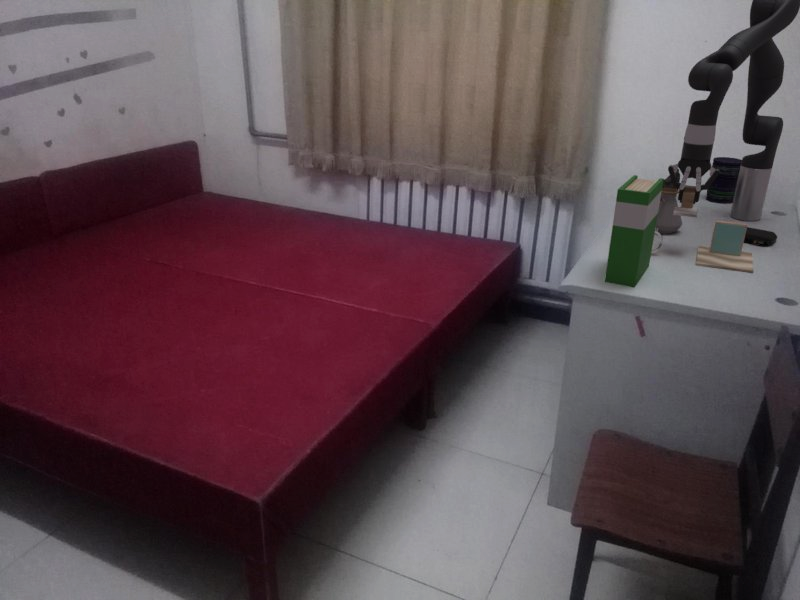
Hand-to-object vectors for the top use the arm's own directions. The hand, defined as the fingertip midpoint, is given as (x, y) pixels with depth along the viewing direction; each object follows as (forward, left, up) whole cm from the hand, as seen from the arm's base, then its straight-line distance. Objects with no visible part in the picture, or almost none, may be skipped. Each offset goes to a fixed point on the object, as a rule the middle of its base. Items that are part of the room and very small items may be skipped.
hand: (687, 202), depth 184 cm
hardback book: (+27, -11, -14) cm, 32 cm away
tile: (0, +12, -13) cm, 18 cm away
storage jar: (-66, +10, -14) cm, 68 cm away
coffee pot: (-13, -7, -14) cm, 20 cm away
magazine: (-51, -8, -14) cm, 54 cm away
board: (+4, +12, -14) cm, 19 cm away
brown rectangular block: (+2, 0, -2) cm, 2 cm away
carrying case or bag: (-19, +18, -15) cm, 30 cm away
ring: (+8, -8, -14) cm, 18 cm away
